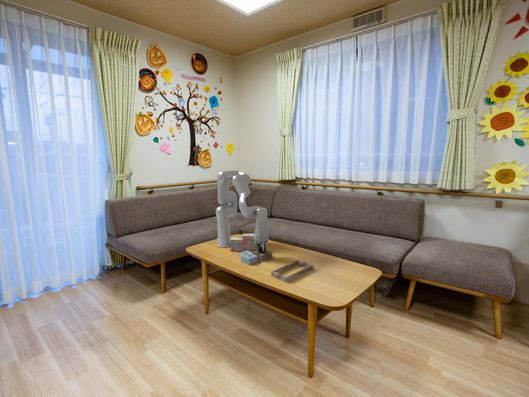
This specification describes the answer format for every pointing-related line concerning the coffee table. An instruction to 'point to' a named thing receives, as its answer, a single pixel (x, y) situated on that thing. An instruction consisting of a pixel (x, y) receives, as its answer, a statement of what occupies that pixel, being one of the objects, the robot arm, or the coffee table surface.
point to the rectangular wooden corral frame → (288, 266)
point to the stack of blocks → (243, 243)
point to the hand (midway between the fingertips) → (262, 250)
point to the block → (249, 258)
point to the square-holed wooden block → (263, 255)
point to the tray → (243, 253)
